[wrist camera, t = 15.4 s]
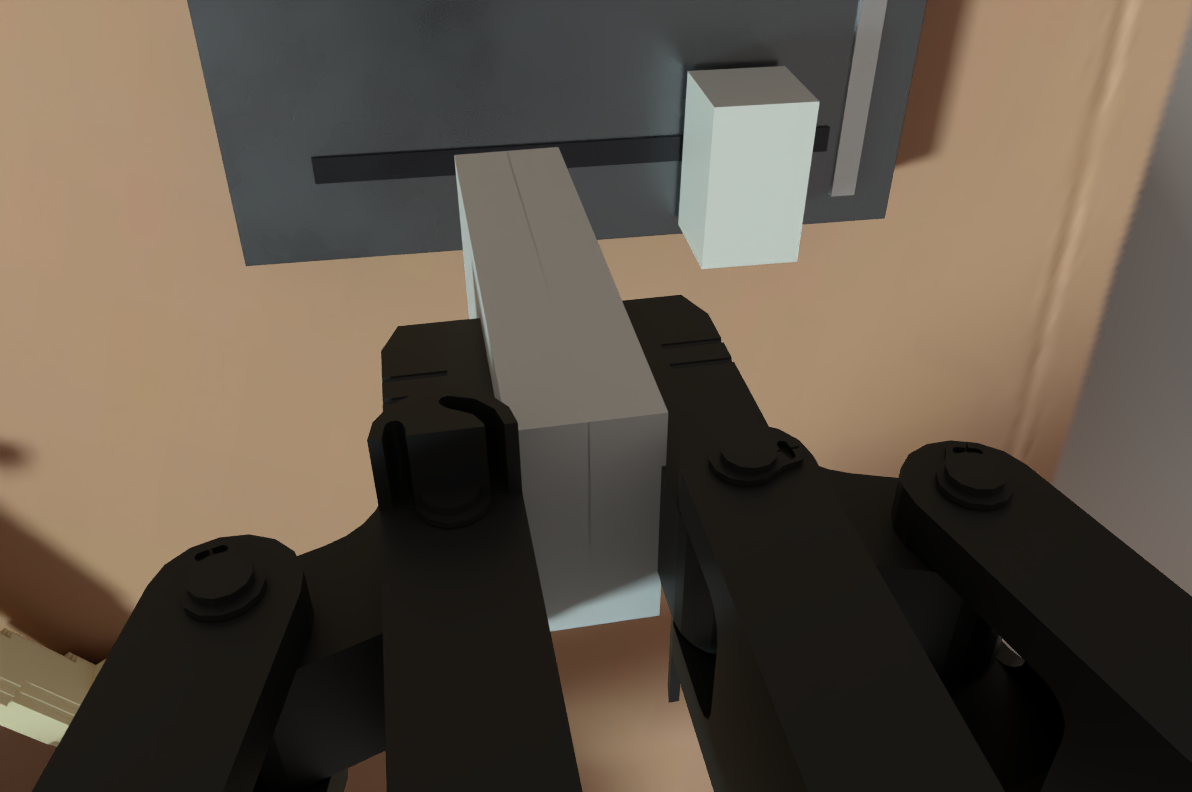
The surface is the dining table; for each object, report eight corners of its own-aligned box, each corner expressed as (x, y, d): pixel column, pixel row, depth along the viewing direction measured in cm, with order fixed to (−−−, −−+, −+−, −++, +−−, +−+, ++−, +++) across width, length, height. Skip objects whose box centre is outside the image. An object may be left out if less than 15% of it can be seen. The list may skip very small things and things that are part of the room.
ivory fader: (678, 224, 33) (701, 269, 31) (687, 71, 30) (714, 107, 28) (766, 217, 33) (797, 261, 31) (784, 66, 30) (819, 101, 28)
